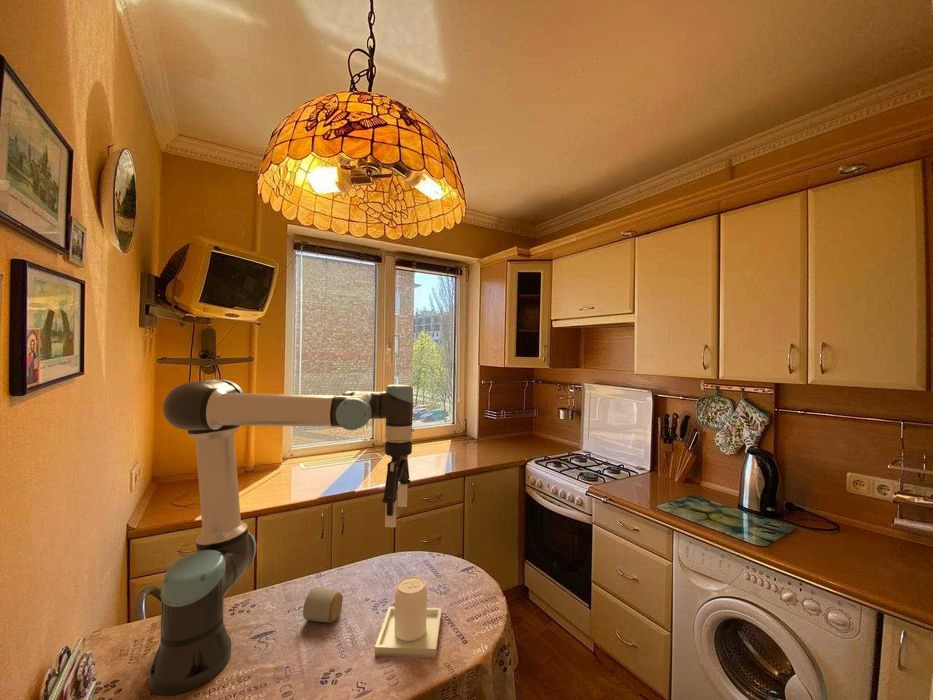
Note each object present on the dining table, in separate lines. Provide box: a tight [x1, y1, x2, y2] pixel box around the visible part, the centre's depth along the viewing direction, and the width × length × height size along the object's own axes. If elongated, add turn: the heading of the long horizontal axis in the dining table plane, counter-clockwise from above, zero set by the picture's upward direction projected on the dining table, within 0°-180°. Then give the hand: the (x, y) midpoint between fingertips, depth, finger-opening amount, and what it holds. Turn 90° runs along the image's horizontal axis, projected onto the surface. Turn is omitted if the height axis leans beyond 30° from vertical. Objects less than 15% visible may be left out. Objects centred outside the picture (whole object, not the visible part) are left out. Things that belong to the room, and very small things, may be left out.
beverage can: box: [394, 575, 428, 641], centre depth 97 cm, size 8×8×12 cm
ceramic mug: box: [302, 586, 344, 624], centre depth 104 cm, size 11×8×8 cm
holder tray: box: [374, 606, 443, 659], centre depth 97 cm, size 15×15×2 cm
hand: (396, 516), depth 105 cm, fingers open, 13 cm apart
